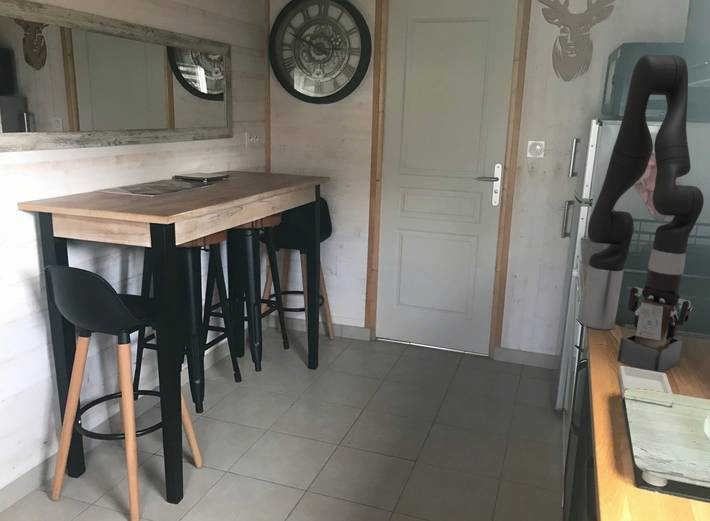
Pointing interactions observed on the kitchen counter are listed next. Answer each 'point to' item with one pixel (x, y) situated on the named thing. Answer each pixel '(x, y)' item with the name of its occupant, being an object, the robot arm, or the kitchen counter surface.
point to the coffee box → (653, 323)
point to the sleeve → (649, 354)
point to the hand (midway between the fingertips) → (653, 334)
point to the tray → (643, 380)
